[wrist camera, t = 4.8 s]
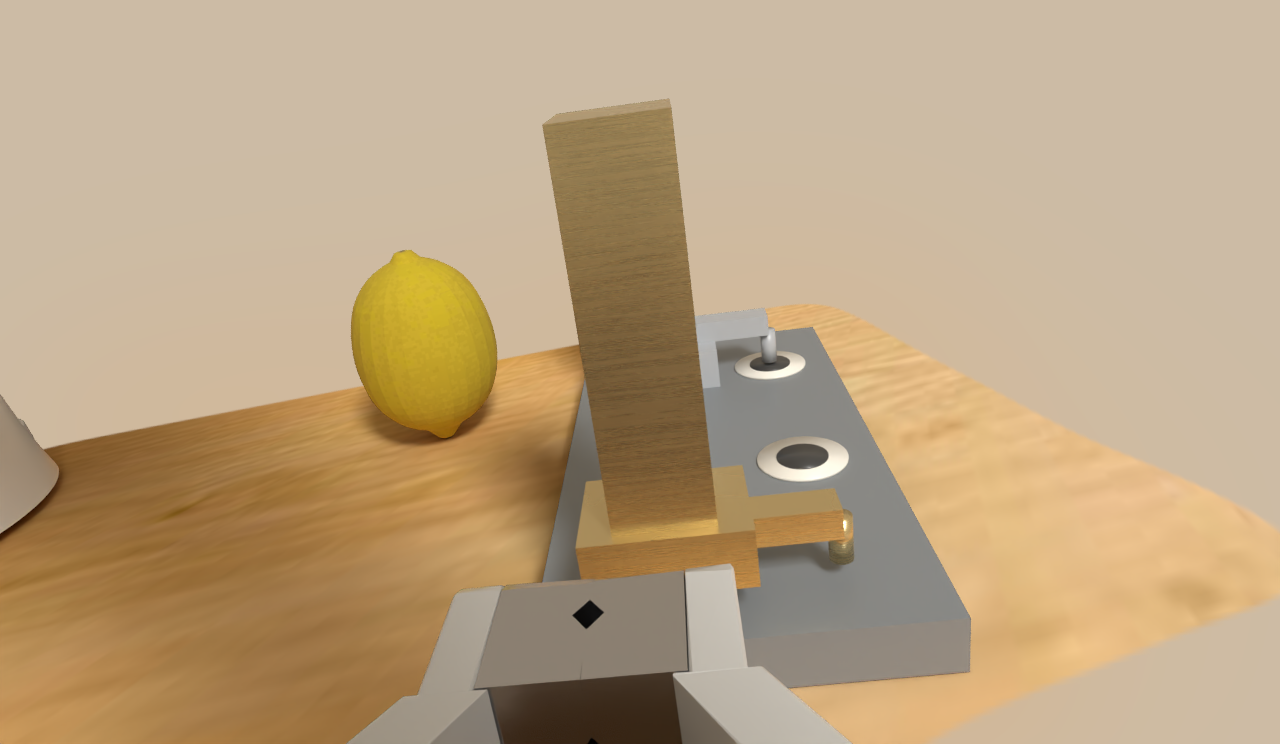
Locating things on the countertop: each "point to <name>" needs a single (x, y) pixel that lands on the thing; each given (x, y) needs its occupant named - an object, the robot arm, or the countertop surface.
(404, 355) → the lemon
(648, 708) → the robot arm
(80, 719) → the countertop surface
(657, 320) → the brass leg
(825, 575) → the board
